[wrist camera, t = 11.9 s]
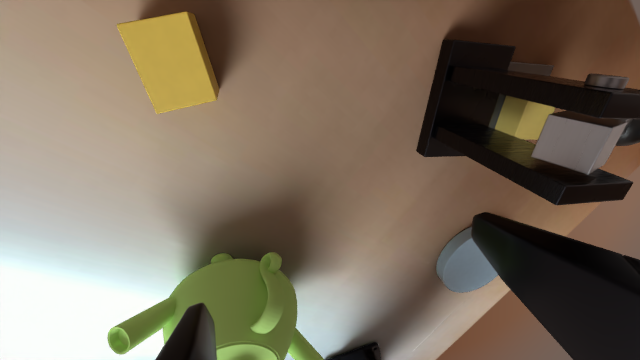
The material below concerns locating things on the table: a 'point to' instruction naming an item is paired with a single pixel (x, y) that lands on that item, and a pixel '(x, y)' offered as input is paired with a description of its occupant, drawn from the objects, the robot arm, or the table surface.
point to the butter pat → (171, 60)
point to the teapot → (229, 311)
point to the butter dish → (522, 108)
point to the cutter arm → (583, 140)
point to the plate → (464, 264)
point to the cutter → (506, 150)
